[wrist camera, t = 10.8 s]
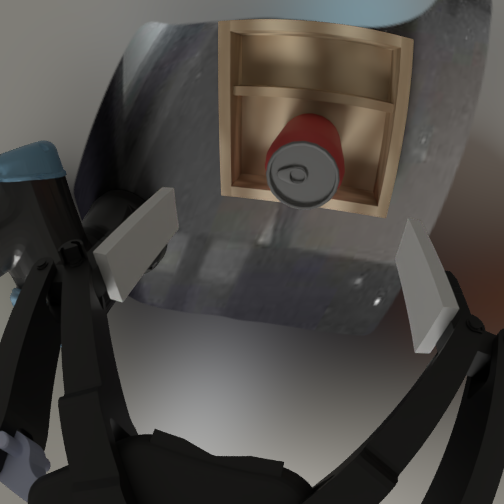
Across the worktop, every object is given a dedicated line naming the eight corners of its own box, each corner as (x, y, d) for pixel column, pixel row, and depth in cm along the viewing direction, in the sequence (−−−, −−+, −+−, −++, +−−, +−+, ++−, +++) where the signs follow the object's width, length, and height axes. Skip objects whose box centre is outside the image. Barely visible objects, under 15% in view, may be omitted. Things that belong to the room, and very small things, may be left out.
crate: (234, 179, 36) (221, 195, 32) (233, 27, 25) (218, 21, 21) (379, 199, 33) (385, 218, 29) (400, 43, 21) (413, 39, 17)
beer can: (282, 110, 29) (258, 131, 20) (342, 115, 28) (351, 140, 18) (281, 164, 33) (258, 211, 23) (337, 170, 32) (340, 221, 22)
